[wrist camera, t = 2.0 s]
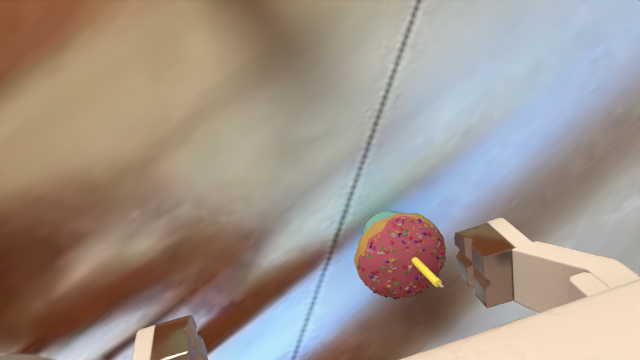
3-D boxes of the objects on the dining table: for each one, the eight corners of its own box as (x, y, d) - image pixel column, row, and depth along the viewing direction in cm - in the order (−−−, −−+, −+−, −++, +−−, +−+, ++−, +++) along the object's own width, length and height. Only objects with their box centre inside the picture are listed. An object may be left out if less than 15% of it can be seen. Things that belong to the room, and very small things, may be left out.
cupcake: (357, 188, 46) (401, 257, 36) (437, 199, 49) (500, 267, 38) (335, 264, 49) (369, 349, 39) (411, 271, 52) (463, 353, 41)
